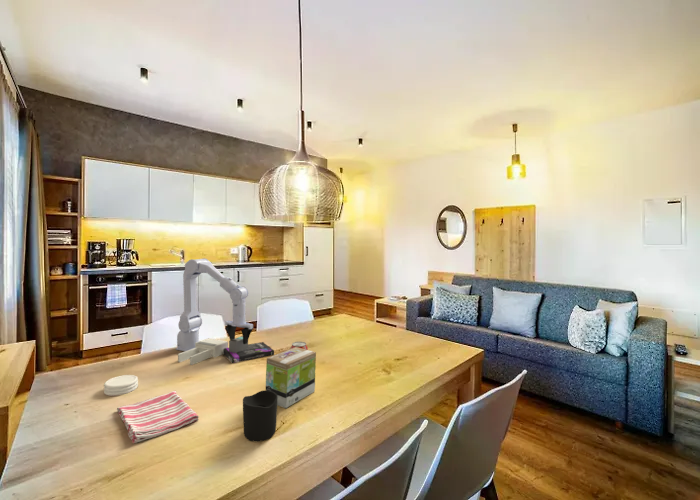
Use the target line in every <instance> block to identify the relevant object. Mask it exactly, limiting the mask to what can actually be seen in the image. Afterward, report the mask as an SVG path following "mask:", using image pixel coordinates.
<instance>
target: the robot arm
mask: <svg viewBox="0 0 700 500" xmlns="http://www.w3.org/2000/svg"><path fill="white" fill-rule="evenodd" d="M182 274H183V275H182V277H183V279H182V280H183V283H182V285H183V312H182V313H181V315H180V316H179V322H178V329H179V332H178V333H177V334H176V348H175V350H176V351H180V352H181V351H183V352H185V351H188V350H191V349H193V348H195V343H196V342H199V341H200V340H199V339H200V335H199V333H200V327H201V326H202V324H203V318H202V317H201V312H200V311H199V310H198V307H197V305H198V303H197V301H198V300H197V278H198V277H199V276H200V275H201V274H207V275H209V276H210V277H211V278H213V279H215V281H217V282H218V283H219V287H220V288H221V289H222V290H224V291H225V292H227V293H228V294H229V297H230V299H231V303H232V320H226V321H225V323H224V324H225V327H224V329H225V331H226V332H227V335H228V339H229V341H230V340H231V339H235V338H236V332H237V331H236V330H237V328H242V329H240V331H241V334H242V335H241V336H243V344H247V343H248V344H249V339H250V335H251V333H252V331H253V329H254V324H253V323H249V322H247V321H246V313H247V311H246V309H247V308H246V307H247V306H246V304H247V303H246V302H247V299H246V298H248V296H249V291H248V289H247V288H246V287H245V286H241V284H239V283H238V282H236V281H235V280H233V279H234V278H233V277H229V276H225V275H224V274H223V273H221V272H220V271H219V269H217V268H216V267H215V266H214V265H213V263H212V262H211V261H209V259H207V258H205V257H204V258H198V259H189V260H188V261H186V263H184V271H183V273H182Z"/></svg>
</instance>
